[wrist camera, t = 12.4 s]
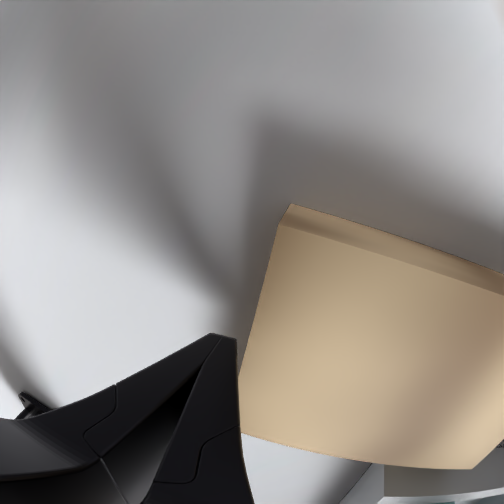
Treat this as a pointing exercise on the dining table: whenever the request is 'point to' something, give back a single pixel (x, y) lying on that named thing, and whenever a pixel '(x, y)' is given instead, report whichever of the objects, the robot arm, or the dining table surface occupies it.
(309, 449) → the board
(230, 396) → the robot arm
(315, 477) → the dining table surface
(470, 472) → the tray
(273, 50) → the dining table surface
